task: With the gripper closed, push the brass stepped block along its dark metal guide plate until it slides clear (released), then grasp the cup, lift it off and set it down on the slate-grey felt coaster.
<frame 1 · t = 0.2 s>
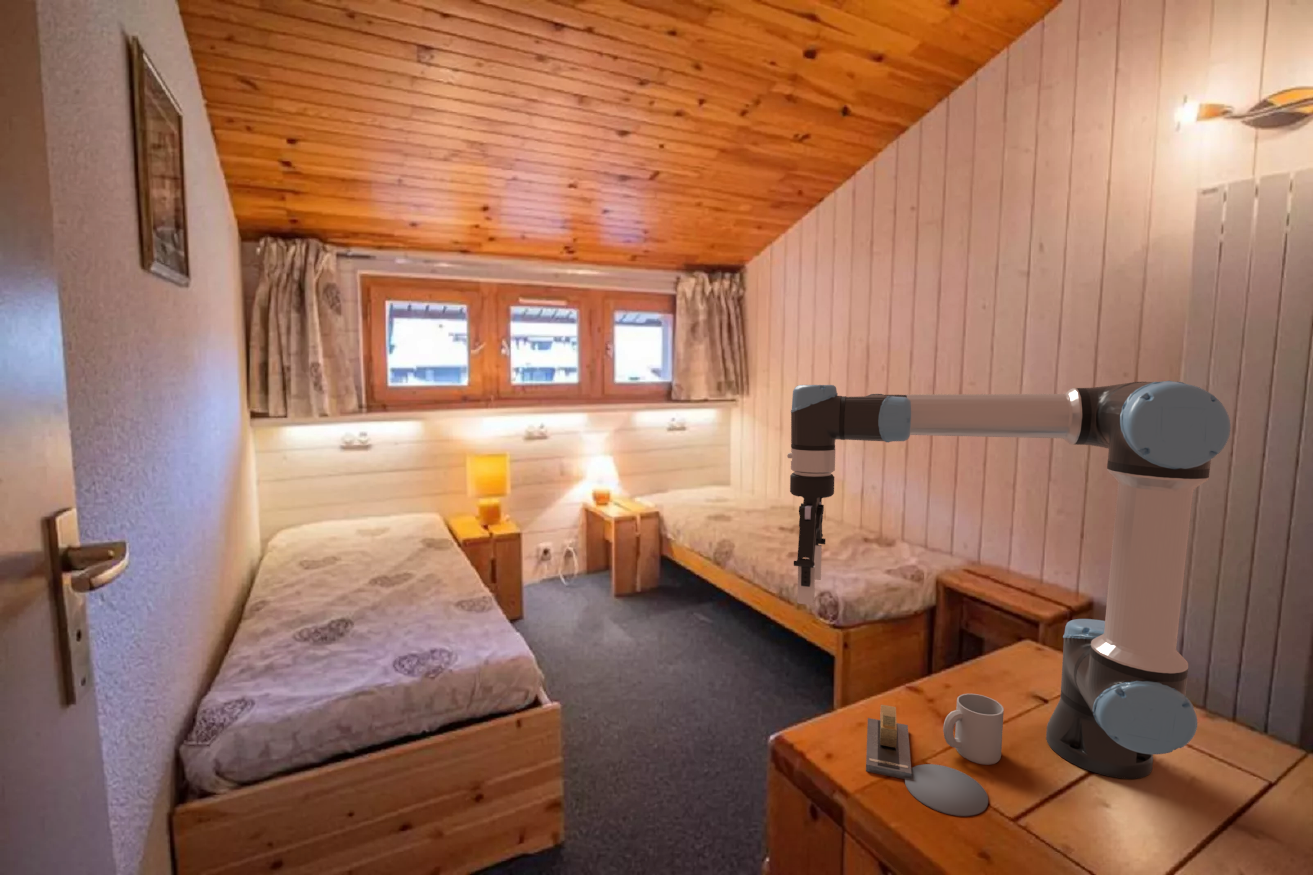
hand: (809, 590, 109), 27 cm above the table, fingers open, 13 cm apart
lock plate: (887, 750, 108), on the table
coaster: (945, 789, 98), on the table
brass stepped block: (888, 720, 110), point 4 cm above the table, slide at 0.0 cm
cup: (969, 754, 107), on the table
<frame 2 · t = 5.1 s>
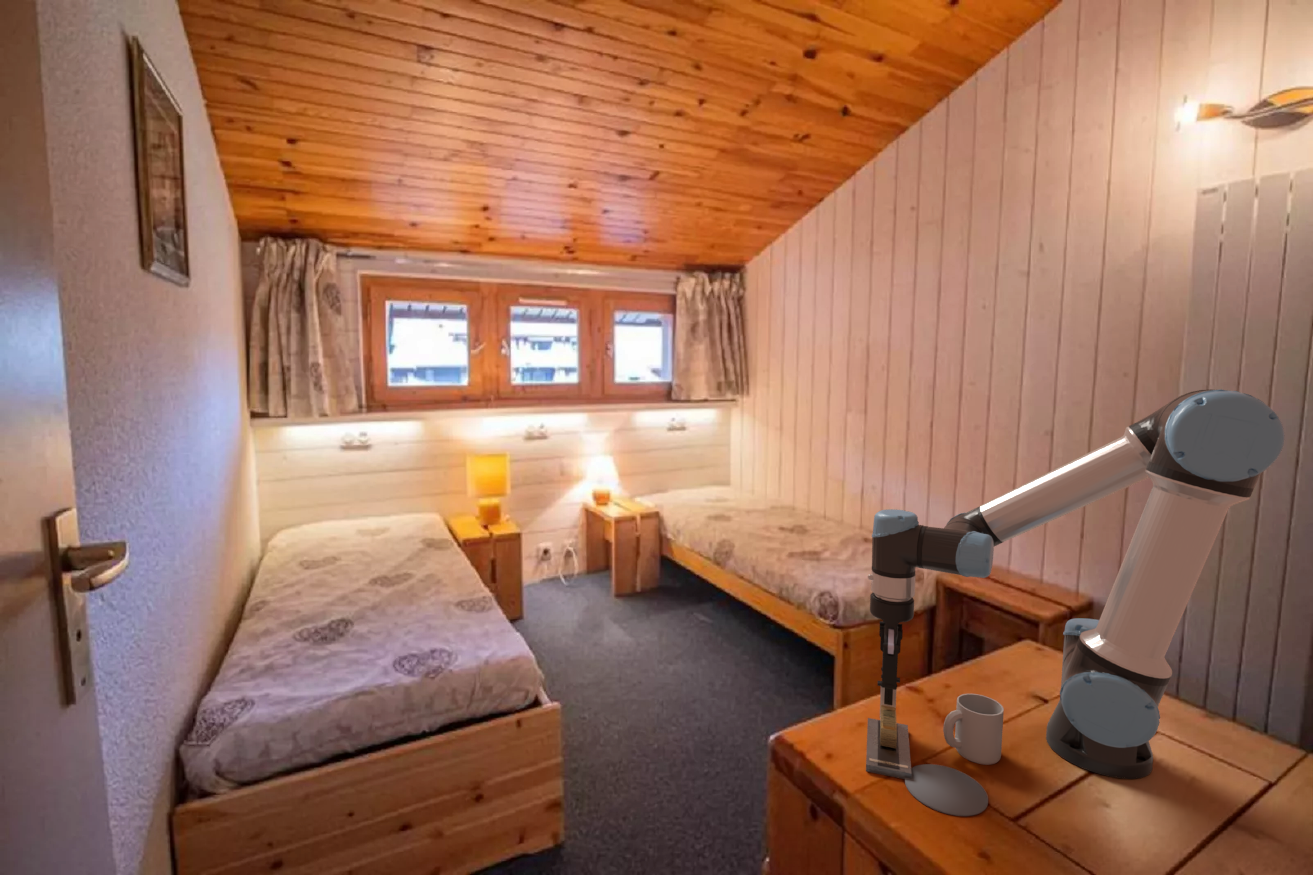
hand: (887, 717, 114), 2 cm above the table, fingers closed
brass stepped block: (888, 720, 110), point 4 cm above the table, slide at 0.2 cm, touching gripper
everything else where it was.
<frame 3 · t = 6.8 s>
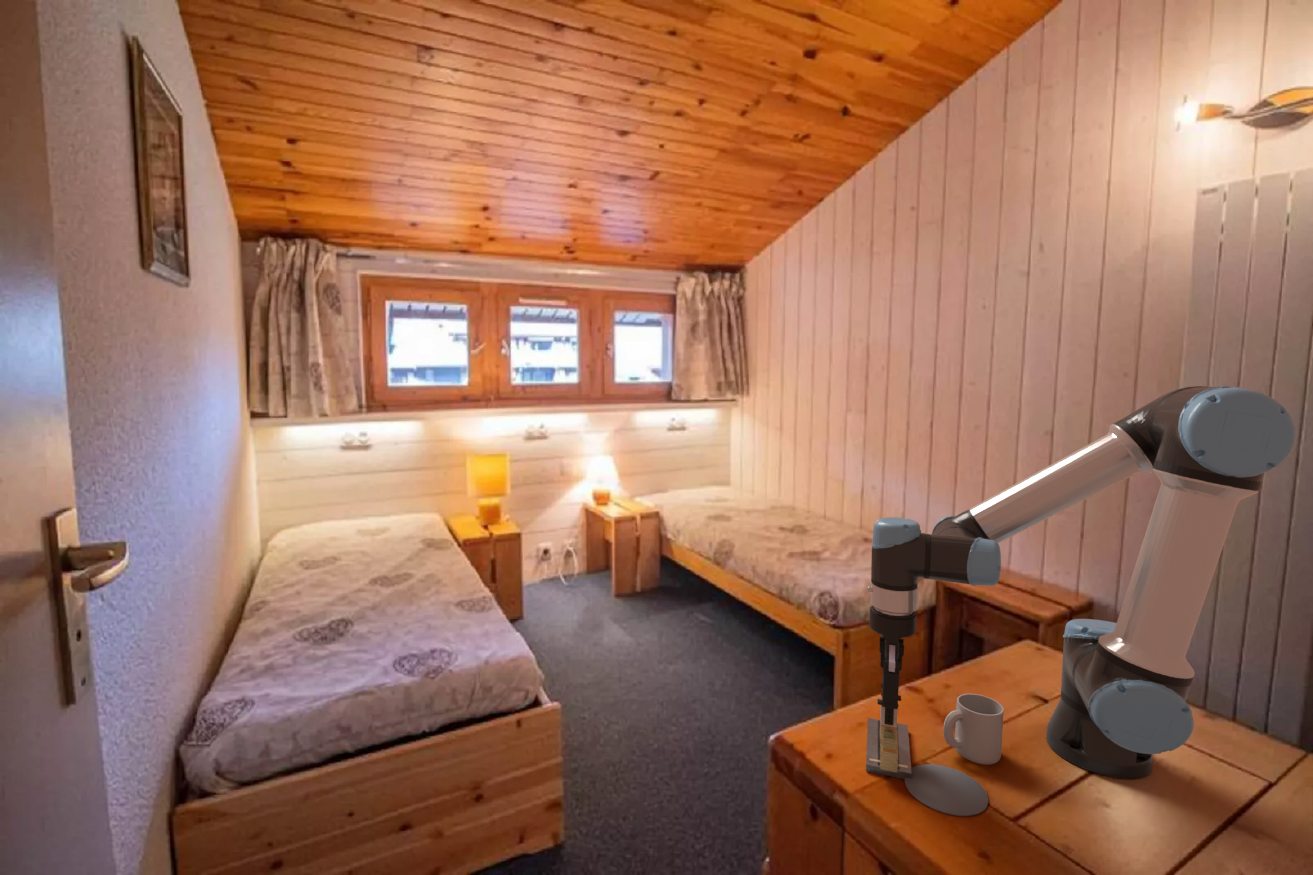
hand: (887, 737, 108), 2 cm above the table, fingers closed
brass stepped block: (888, 742, 103), point 4 cm above the table, slide at 7.2 cm, touching gripper
everything else where it was.
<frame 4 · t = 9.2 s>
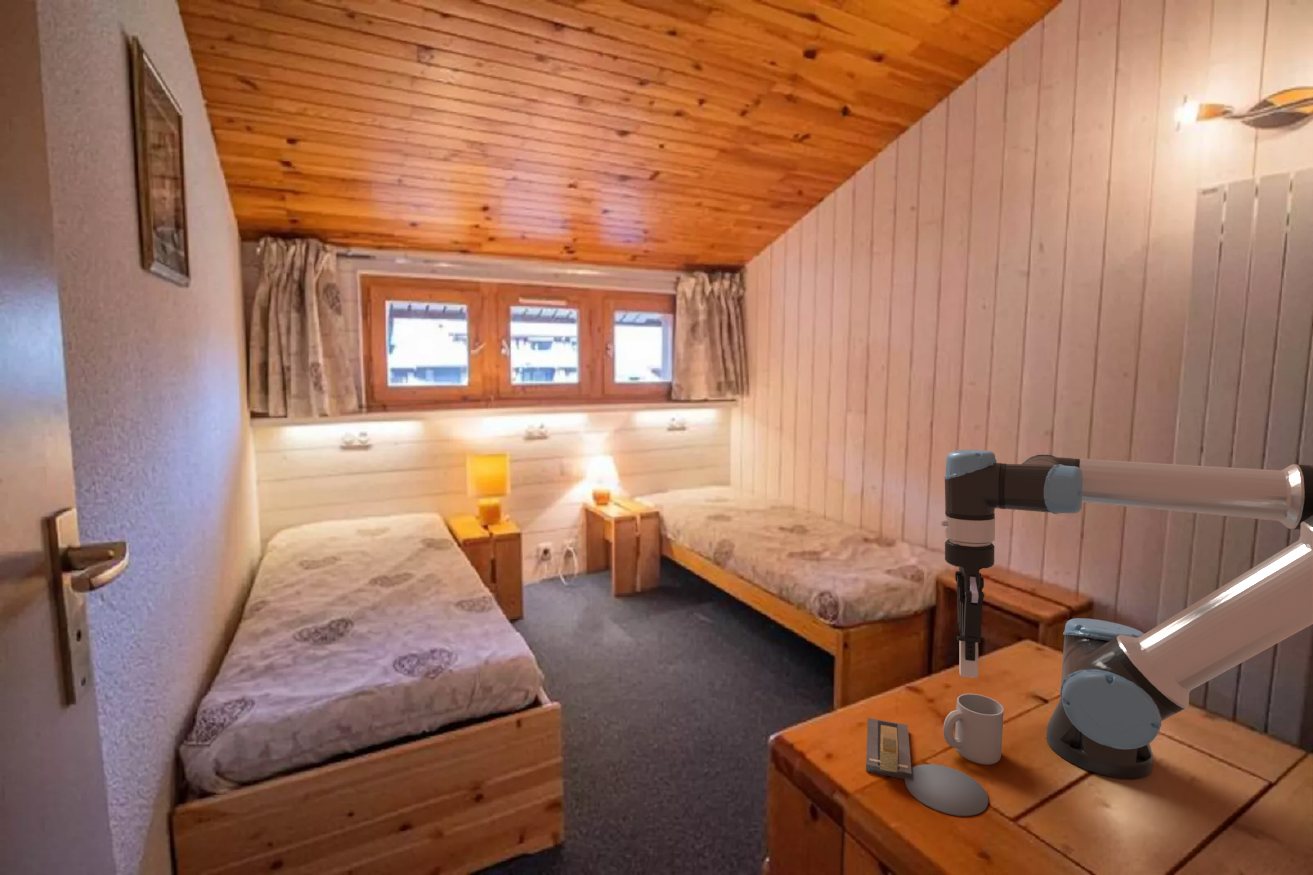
hand: (968, 675, 106), 14 cm above the table, fingers closed
brass stepped block: (888, 742, 103), point 4 cm above the table, slide at 7.2 cm
everything else where it was.
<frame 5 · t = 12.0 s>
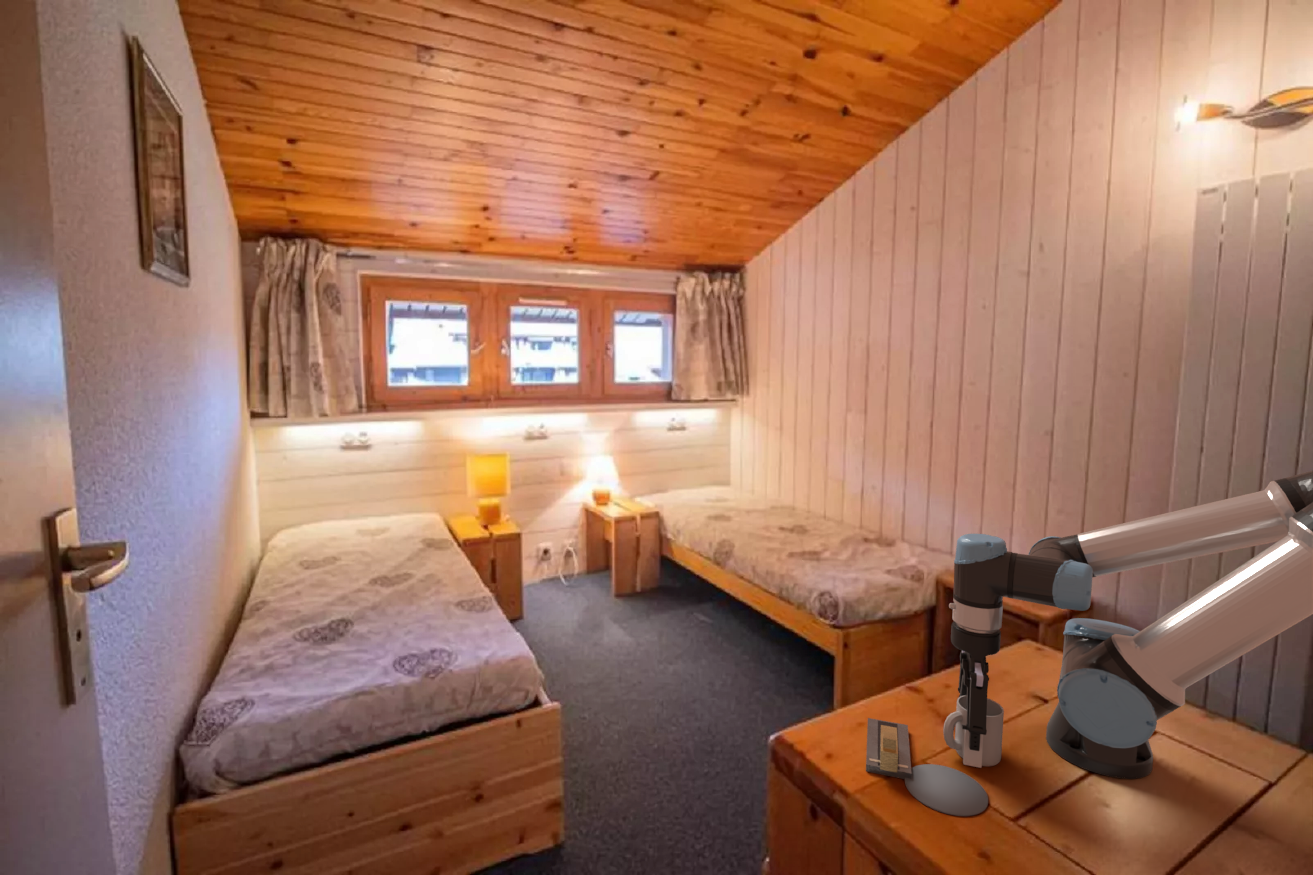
hand: (968, 751, 107), 0 cm above the table, fingers closed on cup, 7 cm apart
cup: (969, 756, 107), on the table, touching gripper
everything else where it was.
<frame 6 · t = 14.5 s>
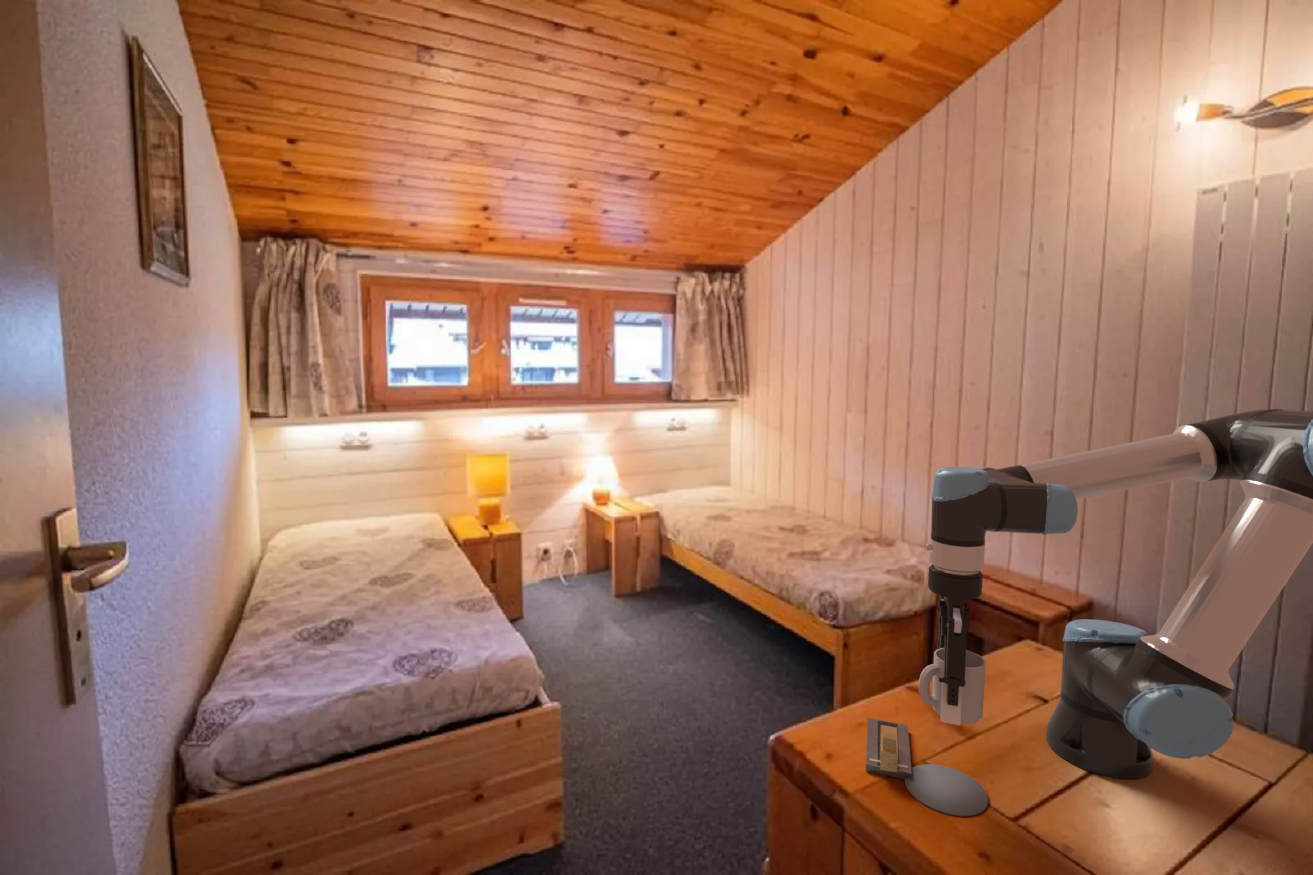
hand: (947, 709, 97), 13 cm above the table, fingers closed on cup, 7 cm apart
cup: (948, 713, 96), point 13 cm above the table, touching gripper
everything else where it was.
when the fingers open (2 cm above the table, at t = 16.9 s): cup drops 1 cm, resting on coaster.
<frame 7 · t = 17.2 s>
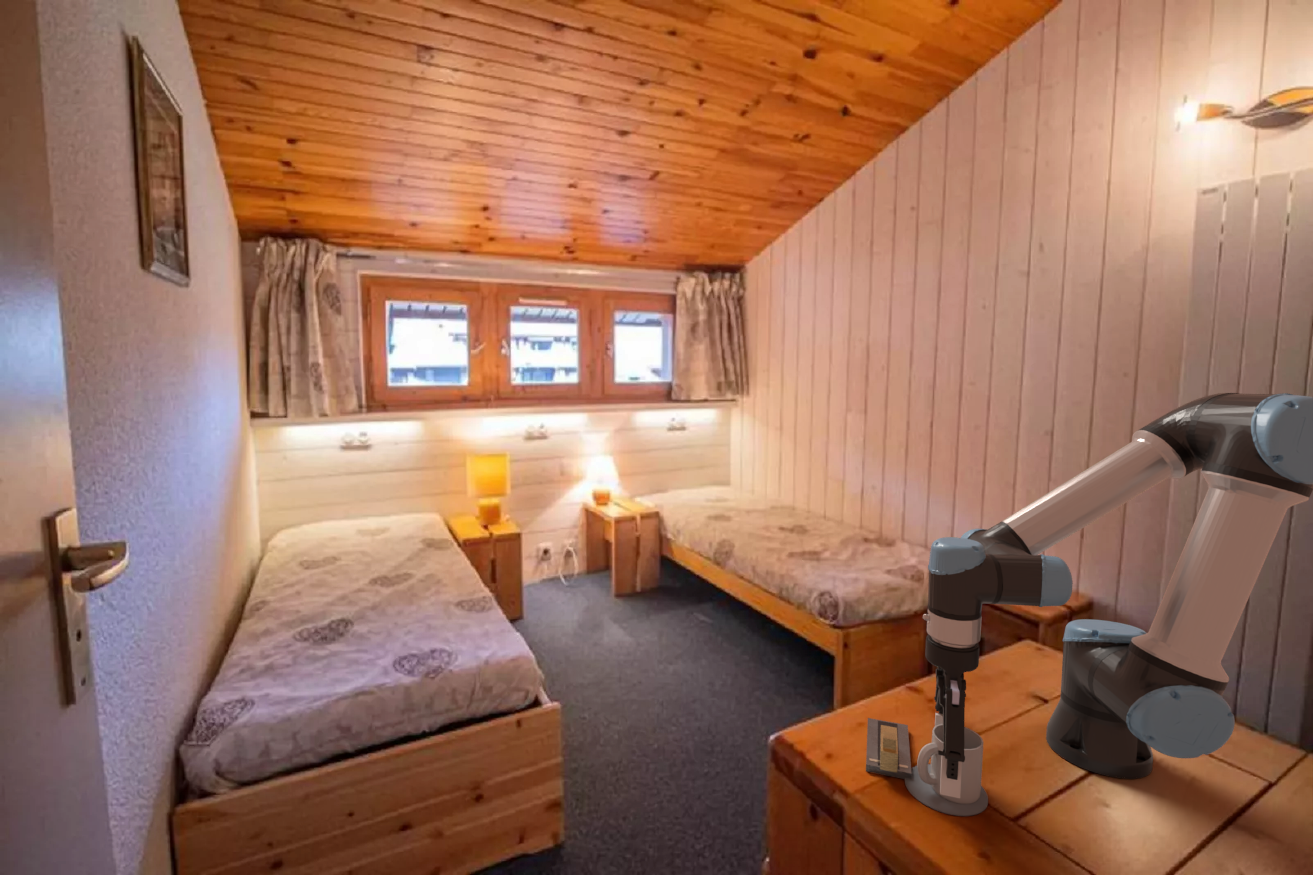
hand: (946, 772, 97), 3 cm above the table, fingers open, 10 cm apart
cup: (946, 791, 97), resting on coaster
everything else where it was.
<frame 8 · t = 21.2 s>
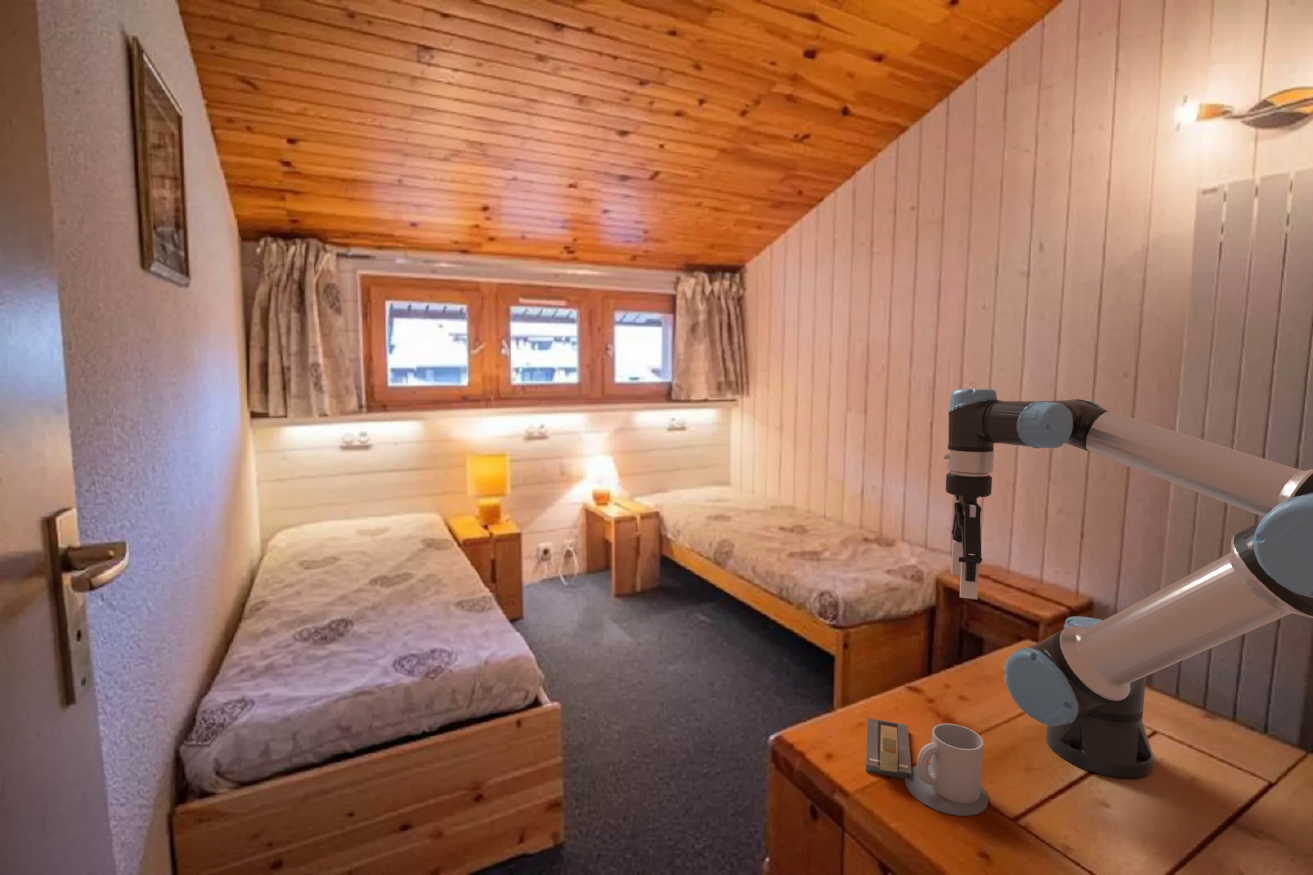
hand: (963, 585, 114), 27 cm above the table, fingers open, 13 cm apart
nothing on the table moved.
at the end: brass stepped block slide at 7.2 cm; cup inside the target area on the coaster (0.6 cm from its centre), point 0.1 cm above the coaster's base; cup tilted 0° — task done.
